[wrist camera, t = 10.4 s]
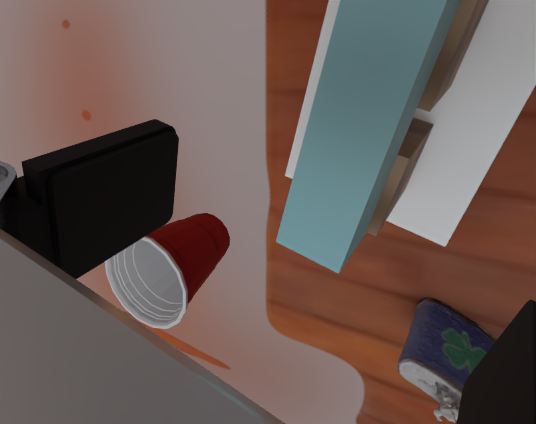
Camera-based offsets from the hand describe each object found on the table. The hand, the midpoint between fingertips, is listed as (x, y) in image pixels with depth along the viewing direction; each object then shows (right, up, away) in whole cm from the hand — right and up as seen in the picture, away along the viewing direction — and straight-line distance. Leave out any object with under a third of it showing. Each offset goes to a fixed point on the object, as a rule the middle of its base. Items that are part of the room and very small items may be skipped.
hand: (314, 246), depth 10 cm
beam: (+5, +7, +14) cm, 17 cm away
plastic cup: (-8, -2, +40) cm, 41 cm away
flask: (+17, -10, +29) cm, 35 cm away
